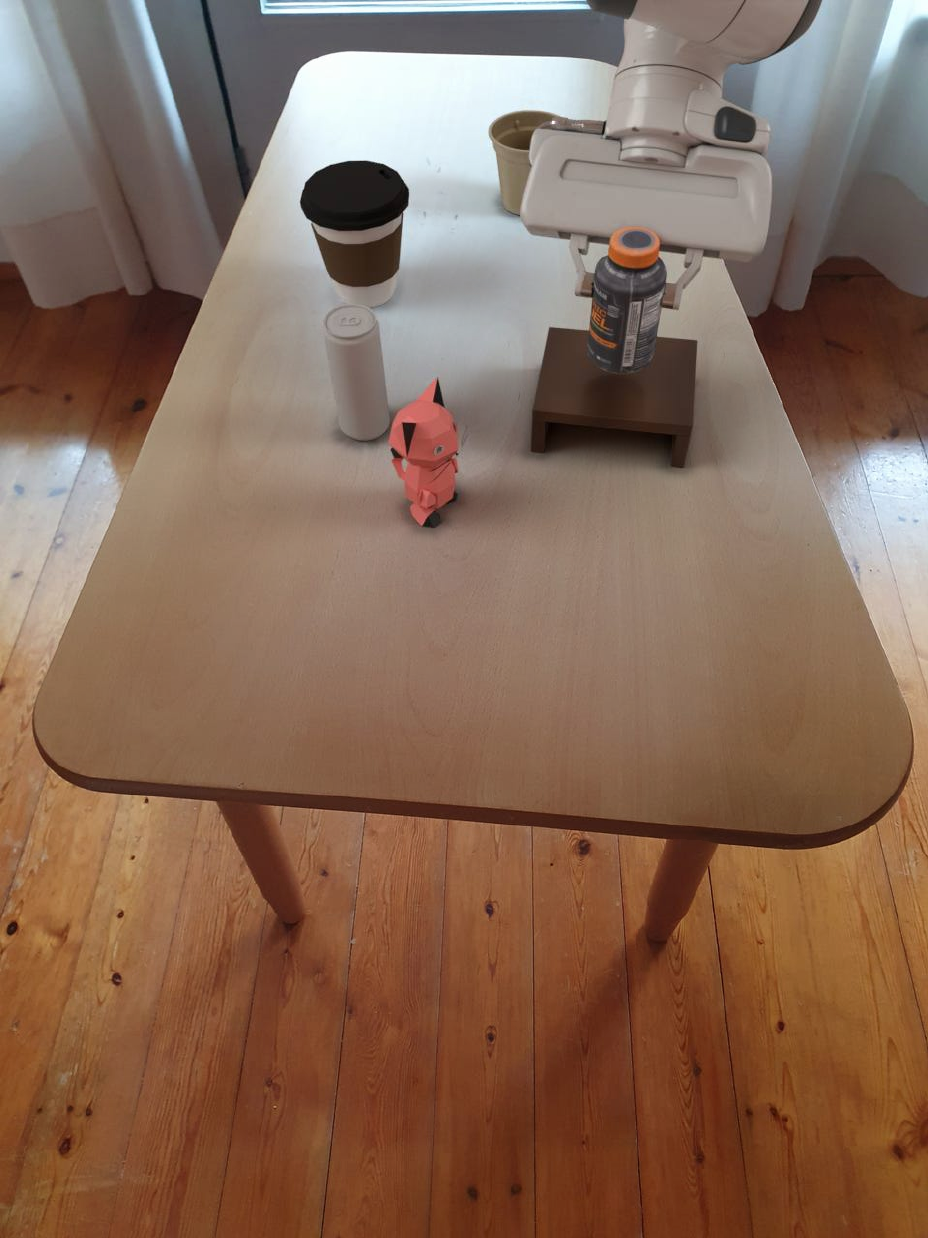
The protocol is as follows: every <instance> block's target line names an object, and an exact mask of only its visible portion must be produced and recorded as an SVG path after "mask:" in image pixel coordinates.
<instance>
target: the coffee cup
mask: <svg viewBox="0 0 928 1238" xmlns="http://www.w3.org/2000/svg"><path fill="white" fill-rule="evenodd" d="M409 203H410V188H409V187H408V185H407V184H406V183H405V180H404V178H402V176H401V175H400V173H399V171H397V170H396V169H393V168H392V167H390V166H389V165H386V164H384V163H381V162H376V161H371V160H368V159H367V160H345V161H341V162H336V163H332V164H331V163H330V164H328V165H327V166H325V167H323V168H321V169H319V170H316V171H315V172H314V173H313V174H312V175H311V176H310V177H309V178H308V179H307V180H306V181H305V182H304V186H303V189H302V191H301V196H300V199H299V206H300V209H301V211H302V213H303V214H304V217H305V218H306V219H307V220H308V221H310V226H311V228H312V232H313V234H314V237H315V241H316V243H317V246H318V249H319V252H320V255H321V257H322V261H323V264H324V268H325V270H326V272H327V274H328V276H329V277H330V281H331V282H332V285H333V288H334V291H335V293H336V294H337V296H338V298H339V299H340V300H341V301H342V302H343V303H344V304H360V305H364V306H366V307H368V308H370V309H372V308H376V307H380V306H382V305H383V304H385V303H387V302H389V301H390V300H391V298H392V297H393V296H394V294H395V292H396V289H397V284H398V283H397V282H398V271H399V270H400V265H401V253H402V240H403V227H404V226H403V225H404V212H405V210H406V209H407V208H408V207H409Z"/></svg>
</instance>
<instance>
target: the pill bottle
mask: <svg viewBox="0 0 928 1238" xmlns="http://www.w3.org/2000/svg"><path fill="white" fill-rule="evenodd" d="M659 246H660V240H659V238H658V236H657V235H656V234H655V233H654V232H653V231H651V230H649V229H646V228H643V227H625V228H622V229H619V230H617V231H616V232H614V233H613V234H612V236H611V238H610V244H609V245H608V249H607V252H606V253H604V254H603V256H601V258H600V259H599V260H598V261H597V263H596V265H595V268H594V273H595V275H594V285H593V296H592V298H591V306H590V307H591V308H590V315H589V327H588V330H589V336H588V346H587V353H588V356H589V358H590V360H591V361H592V362H593V363H594V364H595V365H596V366H598V367H599V368H601V369H603V370H605V371H608V372H612V373H620V374H624V373H632V372H636V371H638V370H641V369H643V368H644V367H646V366H647V365H648V364H649V363H650V362H651V360H652V358H653V355H654V350H655V344H656V338H657V337H658V331H659V326H660V320H661V315H662V310H663V308H661V304H662V299H663V296H664V288H665V284H666V283H667V279H668V272H667V271H668V270H667V266H666V265H665V262H664V260H663V259H662V258H661V257H660V256H659V255H660V251H659Z"/></svg>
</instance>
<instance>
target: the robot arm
mask: <svg viewBox="0 0 928 1238" xmlns="http://www.w3.org/2000/svg"><path fill="white" fill-rule="evenodd" d="M585 1H586V3H587V5H588V6H589V9H590V10H591V11H592V12H596V13H599V14H604V15H608V16H612V17H616V18H620V19H623V20H624V21H623V38H624V46H623V47H624V48H623V52H622V53H623V54H622V56H621V59H620V62H619V64H618V66H617V68H616V71H615V72H614V77H613V81H612V86H611V92H610V98H609V104H608V109H607V114H606V119H605V120H595V119H573V118H572V119H571V118H568V117H565V116H561V117H554V118H552V121H549V122H545V123H543V124H541V125H540V126H539V127H538V128H537V129H536V130H535V131H534V133H533V135H532V137H531V142H530V148H529V154H528V161H529V165H530V167H531V170H530V173H529V177H528V180H527V183H526V187H525V191H524V194H523V199H522V203H521V209H520V215H519V217H520V221H521V223H522V224H523V225H522V226H523V227H524V228H525V229H526V231H527V232H528V233H529V234H530V235H531V236H535V237H543V238H551V239H559V240H566V241H569V245H568V249H569V252H570V256H571V258H572V261H573V264H574V267H575V271H576V272H577V275H576V281H575V285H574V295H575V297H580V298H588V299H592V296H593V285H594V275H595V272H590V271H587V270H586V267H585V264H584V262H583V259H582V256H587V255H588V252H589V248H590V244H591V243H592V244H599V245H605V246H606V245H607V246H609V244H610V238H611V236H612V234H613V233H614V232H616V231H617V230H619V229H622V228H625V227H643V228H646V229H649V230H651V231H653V232H654V233H655V234H656V235H657V236H658V238H659V240H660V246H659V252H663V253H669V254H679V255H684V261H683V267H684V269H685V271H683V273H682V274H681V276H680V277H679V278H678V280H677V281H676V282H675V283H671V282H666V284H665V288H664V296H663V299H662V304H661V308H662V309H668V310H673V311H674V310H675V311H679V310H680V306H681V300H682V295H683V291H684V290H685V289H686V288H687V287H688V285H689V284H691V282H692V280H694V278H695V277H696V276H697V275H698V274H699V272H701V267H702V263H703V258H709V259H716V260H725V261H733V262H741V263H751V262H753V261H754V260H755V259H757V258H759V256H760V255H761V254H762V253H763V251H764V250H765V246H766V242H767V238H768V233H769V226H770V218H771V211H772V201H773V199H772V198H773V174H772V169H771V166H770V164H769V163H768V161H767V159H766V157H767V154H768V151H769V149H770V143H771V137H772V136H771V135H772V134H771V133H772V131H771V130H772V129H771V125H770V122H769V121H768V119H766V118H764V117H762V116H760V115H758V114H755V113H753V112H751V111H749V110H747V109H744V108H742V107H740V106H738V105H736V104H734V103H732V102H730V101H728V100H726V99H724V98H723V91H724V90H723V89H724V88H723V86H724V84H723V83H724V76H725V75H726V72H727V70H728V69H729V68H730V67H731V66H733V65H736V64H739V65H741V66H742V65H743V66H744V65H751V64H756V63H757V62H761V61H763V60H767V59H769V58H771V57H773V56H775V55H777V54H779V53H780V52H782V51H784V50H786V49H788V48H789V47H790V46H791V45H793V44H794V43H795V42H796V41H798V40H799V39H800V38H801V37H802V36H804V35H805V34H806V33H807V32H808V31H809V29H810V28H811V26H812V24H813V23H814V21H815V19H816V17H817V15H818V12H819V10H820V8H821V5H822V2H823V0H585ZM547 127H551V130H549V129H545V128H547ZM581 255H582V256H581Z"/></svg>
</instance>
